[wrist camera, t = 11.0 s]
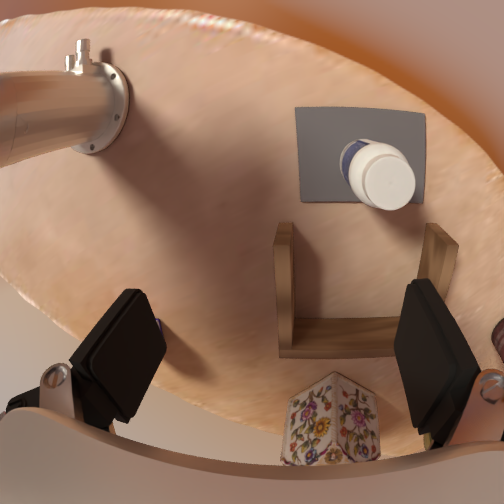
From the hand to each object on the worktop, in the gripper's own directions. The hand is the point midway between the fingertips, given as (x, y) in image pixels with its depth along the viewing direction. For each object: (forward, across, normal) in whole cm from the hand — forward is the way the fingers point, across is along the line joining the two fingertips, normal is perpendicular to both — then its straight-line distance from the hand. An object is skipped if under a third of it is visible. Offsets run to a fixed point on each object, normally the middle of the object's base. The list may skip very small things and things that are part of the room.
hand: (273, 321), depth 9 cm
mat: (+22, -8, -2) cm, 23 cm away
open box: (+21, -8, +13) cm, 26 cm away
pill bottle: (+21, -8, -2) cm, 23 cm away
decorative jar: (+21, -6, +38) cm, 44 cm away
